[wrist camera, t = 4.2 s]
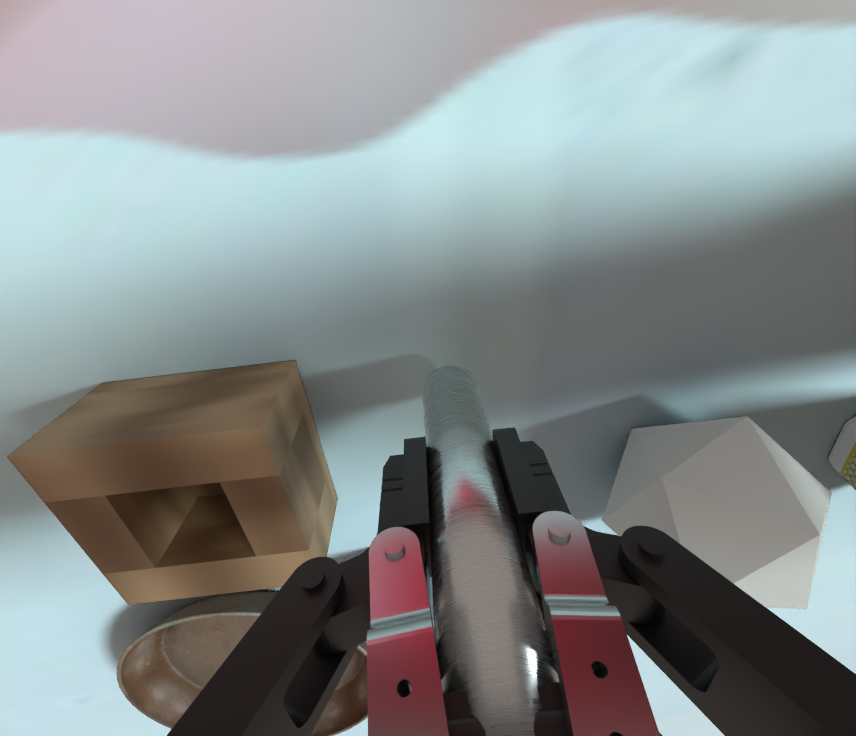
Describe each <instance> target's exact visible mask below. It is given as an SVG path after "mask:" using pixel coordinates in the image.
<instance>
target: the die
mask: <svg viewBox="0 0 856 736" xmlns="http://www.w3.org/2000/svg"><path fill="white" fill-rule="evenodd" d="M831 495H832V493H831V492H830V491H829V490H828V489H827V488H826V487H824V486H823V485H822V484H821V483H820V482H819V481H818V480H817V479H816V478H815V477H814V476H812V475H811V474H810V473H809V472H808V471H807V470H806V469H805V468H804V467H803V466H801V465H800V464H799V463H798V462H797V461H796V460H795V459H794V458H793V457H792V456H791V455H789V454H788V453H787V452H786V451H785V450H784V449H783V448H782V447H781V446H780V445H778V444H777V443H776V442H775V441H774V440H773V439H772V438H771V437H770V436H769V435H768V434H766V433H765V432H764V431H763V430H762V429H761V428H760V427H759V426H758V425H757V424H755V423H754V422H753V421H752V420H751V419H750V418H749V417H748V416H744V417H735V418H725V419H716V420H707V421H698V422H688V423H679V424H670V425H661V426H651V427H642V428H633V429H631V432H630V435H629V438H628V441H627V444H626V447H625V450H624V453H623V456H622V459H621V462H620V465H619V469H618V472H617V475H616V478H615V481H614V484H613V487H612V490H611V493H610V496H609V499H608V502H607V505H606V509H605V512H604V515H603V518H602V521H603V522H604V523H605V524H606V525H607V526H609V527H610V528H611V529H612V530H613V531H614V532H615V533H616V534H617V535H618V536H622V534H623V533H624V531H625V530H627V529H628V528H630V527H633V526H649V527H653V528H656V529H658V530H660V531H662V532H664V533H666V534H667V535H669V536H670V537H671V538H673V539H674V540H676V541H677V542H678V543H680V544H681V545H682V546H684V547H685V548H686V549H688V550H689V551H690V552H692V553H693V554H694V555H696V556H697V557H698V558H700V559H701V560H702V561H704V562H705V563H706V564H708V565H709V566H711V567H712V568H713V569H715V570H716V571H717V572H719V573H720V574H721V575H723V576H724V577H725V578H727V579H728V580H729V581H731V582H732V583H733V584H735V585H736V586H737V587H739V588H740V589H741V590H743V591H744V592H746V593H747V594H748V595H750V596H751V597H752V598H754V599H755V600H756V601H758V602H759V603H760V604H762V605H763V606H764V607H770V608H790V609H807V606H808V602H809V597H810V592H811V588H812V583H813V578H814V574H815V569H816V564H817V560H818V555H819V551H820V546H821V541H822V537H823V532H824V527H825V523H826V518H827V513H828V509H829V504H830V499H831Z"/></svg>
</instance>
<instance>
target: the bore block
mask: <svg viewBox="0 0 856 736" xmlns="http://www.w3.org/2000/svg"><path fill="white" fill-rule="evenodd" d="M7 457H8V459H9V460H10V461H11V462H12V464H13V465H14V466H15V467H16V468H17V470H18V471H19V472H20V473H21V475H22V476H23V477H24V478H25V479H26V481H27V482H28V483H29V484H30V486H31V487H32V488H33V489H34V490H35V492H36V493H37V494H38V495H39V497H40V498H41V499H42V500H43V501H44V503H45V504H46V505H47V506H48V508H49V509H50V510H51V511H52V512H53V514H54V515H55V516H56V517H57V519H58V520H59V521H60V522H61V523H62V525H63V526H64V527H65V528H66V529H67V531H68V532H69V533H70V534H71V536H72V537H73V538H74V539H75V540H76V542H77V543H78V544H79V545H80V547H81V548H82V549H83V550H84V551H85V553H86V554H87V555H88V556H89V558H90V559H91V560H92V561H93V562H94V564H95V565H96V566H97V567H98V569H99V570H100V571H101V572H102V573H103V575H104V576H105V577H106V578H107V580H108V581H109V582H110V583H111V584H112V586H113V587H114V588H115V589H116V591H117V592H118V593H119V594H120V595H121V597H122V598H123V599H124V600H125V601H126V603H127V604H128V605H131V604H139V603H148V602H157V601H165V600H174V599H183V598H191V597H200V596H209V595H218V594H226V593H235V592H244V591H252V590H261V589H270V588H278V587H282V586H283V585H284V584H285V582H286V581H287V580H288V578H289V577H290V576H291V575H292V573H293V572H294V571H295V570H296V569H297V568H298V567H299V566H300V565H301V564H303V563H304V562H306V561H308V560H310V559H312V558H316V557H327V552H328V547H329V542H330V536H331V531H332V526H333V521H334V516H335V510H336V505H337V500H338V498H337V495H336V491H335V488H334V485H333V481H332V478H331V475H330V472H329V468H328V465H327V462H326V459H325V455H324V452H323V449H322V446H321V442H320V439H319V436H318V432H317V429H316V426H315V423H314V419H313V416H312V413H311V410H310V406H309V403H308V400H307V397H306V393H305V390H304V387H303V383H302V380H301V377H300V374H299V370H298V367H297V364H296V361H295V360H292V361H283V362H275V363H266V364H258V365H250V366H241V367H233V368H224V369H216V370H207V371H199V372H191V373H182V374H174V375H165V376H157V377H149V378H140V379H132V380H123V381H115V382H107V383H101V384H100V385H99V386H97V387H96V388H95V389H94V390H92V391H91V392H90V393H88V394H87V395H86V396H85V397H83V398H82V399H81V400H79V401H78V402H77V403H75V404H74V405H73V406H72V407H70V408H69V409H68V410H66V411H65V412H64V413H63V414H61V415H60V416H59V417H57V418H56V419H55V420H53V421H52V422H51V423H50V424H48V425H47V426H46V427H44V428H43V429H42V430H41V431H39V432H38V433H37V434H35V435H34V436H33V437H31V438H30V439H29V440H28V441H26V442H25V443H24V444H22V445H21V446H20V447H19V448H17V449H16V450H15V451H13V452H12V453H11V454H9V455H8V456H7Z"/></svg>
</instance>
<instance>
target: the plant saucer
mask: <svg viewBox="0 0 856 736" xmlns="http://www.w3.org/2000/svg"><path fill="white" fill-rule="evenodd" d="M277 593H278V592H266V591H246V592H235V593H226V594H221V595H217V596H213V597H210V598H206V599H204V600H201V601H198V602H195V603H193V604H191V605H189V606H187V607H185V608H183V609H181V610H179V611H177V612H175V613H173V614H172V615H170V616H168V617H167V618H165V619H164V620H162V621H160V622H159V623H157V624H156V625H154V626H153V627H151V628H150V629H148V630H147V631H146V632H145V633H143V634H142V635H141V636H139V637H138V638H137V639H136V640H135V641H133V642H132V643H131V644H130V645H129V646H128V647H127V648H126V650H125V651H124V652H123V654H122V656H121V658H120V660H119V663H118V667H117V681H118V684H119V687H120V689H121V691H122V692H123V694H124V695H125V697H126V698H127V699H128V700H129V702H130V703H131V704H132V705H133V706H135V707H136V708H137V709H138V710H139V711H141V712H142V713H143V714H145V715H146V716H148V717H149V718H151V719H153V720H154V721H156V722H158V723H160V724H162V725H164V726H167V727H169V728H171V729H172V728H173V727H174V726H175V724H176V723H177V722H178V720H179V719H180V718H181V717H182V715H183V714H184V713H185V711H186V710H187V709H188V708H189V706H190V705H191V704H192V702H193V701H194V700H195V698H196V697H197V696H198V695H199V693H200V692H201V691H202V689H203V688H204V687H205V686H206V684H207V683H208V682H209V680H210V679H211V678H212V677H213V675H214V674H215V673H216V671H217V670H218V669H219V668H220V666H221V665H222V664H223V662H224V661H225V660H226V658H227V657H228V656H229V655H230V653H231V652H232V651H233V649H234V648H235V647H236V646H237V644H238V643H239V642H240V640H241V639H242V638H243V637H244V635H245V634H246V633H247V631H248V630H249V629H250V627H251V626H252V625H253V624H254V622H255V621H256V620H257V618H258V617H259V616H260V615H261V613H262V612H263V611H264V609H265V608H266V607H267V606H268V604H269V603H270V602H271V600H272V599H273V598H274V596H275V595H276V594H277ZM367 717H368V693H367V643H366V642H363V643H361V644H359V646H358V648H357V650H356V652H355V654H354V656H353V657H352V659H351V661H350V663H349V665H348V667H347V669H346V670H345V672H344V674H343V676H342V678H341V680H340V681H339V683H338V685H337V687H336V689H335V691H334V692H333V694H332V696H331V698H330V700H329V702H328V704H327V705H326V707H325V709H324V711H323V713H322V715H321V716H320V718H319V720H318V722H317V724H316V726H315V728H314V729H313V731H312V733H311V735H310V736H333V735H336V734H339V733H341V732H344V731H346V730H348V729H350V728H352V727H354V726H355V725H357V724H359V723H360V722H362V721H363V720H365V719H366V718H367Z"/></svg>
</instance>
